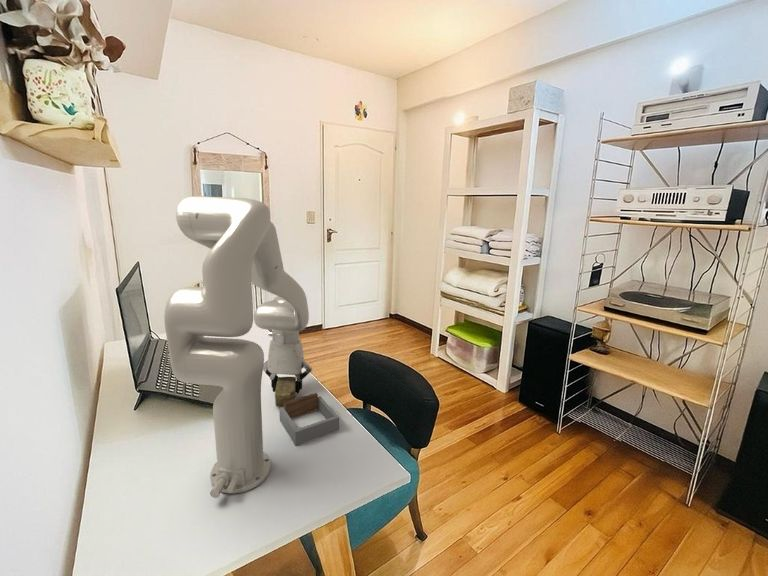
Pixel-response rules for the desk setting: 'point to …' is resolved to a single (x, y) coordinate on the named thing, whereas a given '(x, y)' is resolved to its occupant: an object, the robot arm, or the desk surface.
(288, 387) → the stone block
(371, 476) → the desk surface
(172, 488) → the desk surface
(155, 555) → the desk surface
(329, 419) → the grey open square tray
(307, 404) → the wooden board
